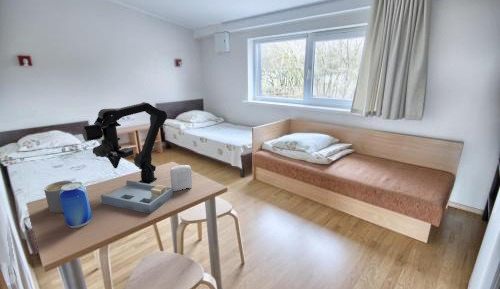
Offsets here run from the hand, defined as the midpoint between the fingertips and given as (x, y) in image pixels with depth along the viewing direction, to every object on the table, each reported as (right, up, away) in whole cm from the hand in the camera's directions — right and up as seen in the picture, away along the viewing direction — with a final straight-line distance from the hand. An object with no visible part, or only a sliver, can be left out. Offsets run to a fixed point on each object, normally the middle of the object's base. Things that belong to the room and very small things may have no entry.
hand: (115, 168), depth 121 cm
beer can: (-2, -20, -22) cm, 29 cm away
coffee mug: (-16, -16, -12) cm, 25 cm away
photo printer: (+30, -11, +6) cm, 33 cm away
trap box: (+13, -14, -4) cm, 20 cm away
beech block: (+23, -12, -5) cm, 26 cm away
